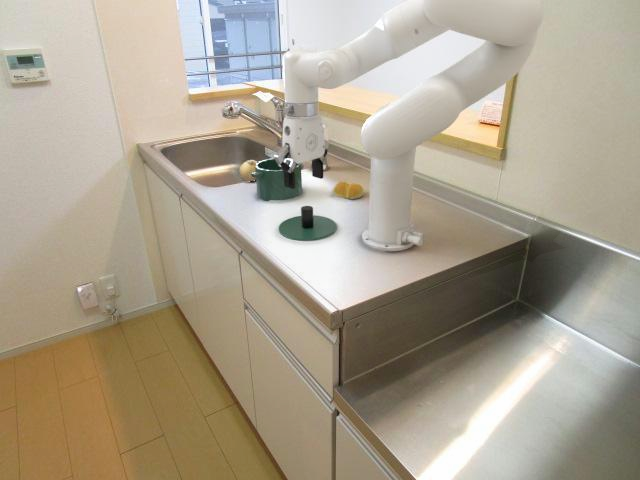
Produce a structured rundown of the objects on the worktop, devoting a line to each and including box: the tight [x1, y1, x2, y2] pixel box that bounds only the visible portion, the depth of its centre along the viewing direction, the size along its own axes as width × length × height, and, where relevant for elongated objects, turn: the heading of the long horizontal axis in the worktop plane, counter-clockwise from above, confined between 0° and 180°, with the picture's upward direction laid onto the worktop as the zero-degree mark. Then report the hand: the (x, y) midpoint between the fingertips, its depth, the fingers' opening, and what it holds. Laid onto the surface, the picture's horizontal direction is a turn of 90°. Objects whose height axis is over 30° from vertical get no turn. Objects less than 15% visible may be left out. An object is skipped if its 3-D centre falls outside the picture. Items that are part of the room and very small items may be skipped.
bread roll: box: [332, 181, 364, 200], centre depth 135 cm, size 8×9×4 cm
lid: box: [278, 205, 338, 242], centre depth 113 cm, size 15×15×6 cm
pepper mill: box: [310, 124, 330, 172], centre depth 158 cm, size 7×7×15 cm
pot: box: [251, 157, 303, 202], centre depth 136 cm, size 14×19×10 cm
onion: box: [238, 159, 259, 182], centre depth 150 cm, size 8×8×7 cm
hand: (304, 182), depth 109 cm, fingers open, 9 cm apart
